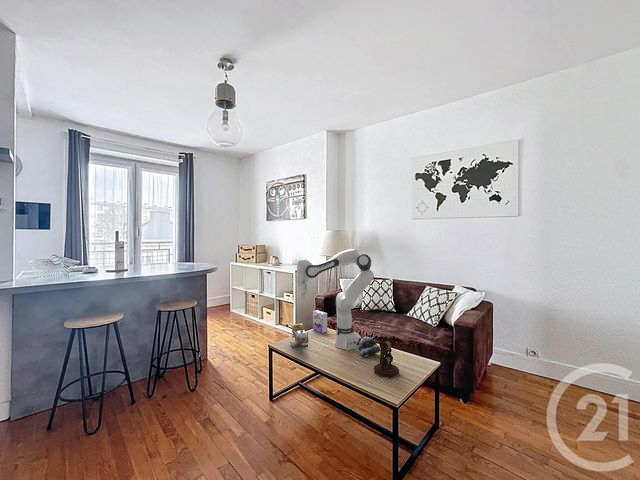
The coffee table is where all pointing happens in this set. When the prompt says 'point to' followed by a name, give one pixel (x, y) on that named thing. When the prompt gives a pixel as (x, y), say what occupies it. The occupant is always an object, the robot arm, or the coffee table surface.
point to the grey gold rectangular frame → (298, 342)
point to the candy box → (320, 321)
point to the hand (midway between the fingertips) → (303, 297)
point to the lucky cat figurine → (367, 346)
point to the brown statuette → (386, 360)
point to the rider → (301, 334)
